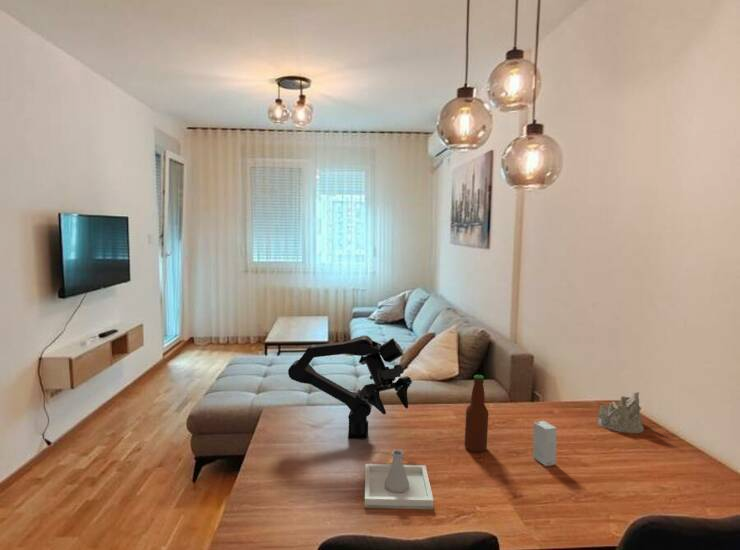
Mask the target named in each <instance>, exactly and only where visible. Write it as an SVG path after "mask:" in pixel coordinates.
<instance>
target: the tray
mask: <svg viewBox="0 0 740 550" xmlns="http://www.w3.org/2000/svg"><path fill="white" fill-rule="evenodd" d="M391 465H392V464H389V463H388V464H387V463H386V464H385V463H384V464H383V463H379V464H378V463H365V464H364V466H365V469H364V470H365V474H364V509H365V508H366V509H396V510H397V509H400V510H401V509H402V510H403V509H404V510H405V509H406V510H408V509H409V510H434V496H433V493H432V492H433V491H432V488H431V483H430V480H429V475H428V471H427V466H426V465H424V464H423V465H422V464H403V467H404V470H405V473H406V476H407V479H408V482H409V489H407V490H406V491H405V492H403V493H401V492H391V491H389V490H387V489H385V488H384V487H385V480H386V478H387V476H388V473H389V471H390V468H391Z"/></svg>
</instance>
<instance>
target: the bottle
mask: <svg viewBox="0 0 740 550" xmlns="http://www.w3.org/2000/svg"><path fill="white" fill-rule="evenodd" d="M484 379H485V377H484V376H483V375H482V374H475V375H474V376H473V387H472V390H471V397H470V404H469V405H468V406H467V408H466V410H465V425H464V427H465V428H464V447H465V448H466V450H468V451H470V452H473V453H482V452H485V451H486V449H487V447H488V446H487V445H488V444H487V443H488V429H489V410H488V409H487V406H486V404H485V397H486V396H485V387H484V383H485V382H484Z"/></svg>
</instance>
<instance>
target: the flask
mask: <svg viewBox="0 0 740 550" xmlns="http://www.w3.org/2000/svg"><path fill="white" fill-rule="evenodd" d="M391 455H392V461H391V464H390V465H391V468H390V471H389V473H388V476H387V478H386V480H385V487H384V488H385V489H387V490H389V491H391V492H401V493H403V492H405V491H406V490H407V489H409V482H408V479H407V476H406V473H405V470H404V467H403V465H404V464H403V456H404V451H403V450H400V449H393V451H392V454H391Z"/></svg>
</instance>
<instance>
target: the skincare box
mask: <svg viewBox="0 0 740 550" xmlns="http://www.w3.org/2000/svg"><path fill="white" fill-rule="evenodd" d="M557 429H558V428H557V427H556V426H554V425H552V424H550V423H549V422H547V421H545V420H541V421H535V422H533V445H532V446H533V447H532V449H533V450H532V457H533V459H534V460H536V461H537V462H539V463H540V464H542V465H543V466H545V467H549V466H555V465H556V459H557V457H556V456H557V455H556V454H557Z"/></svg>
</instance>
